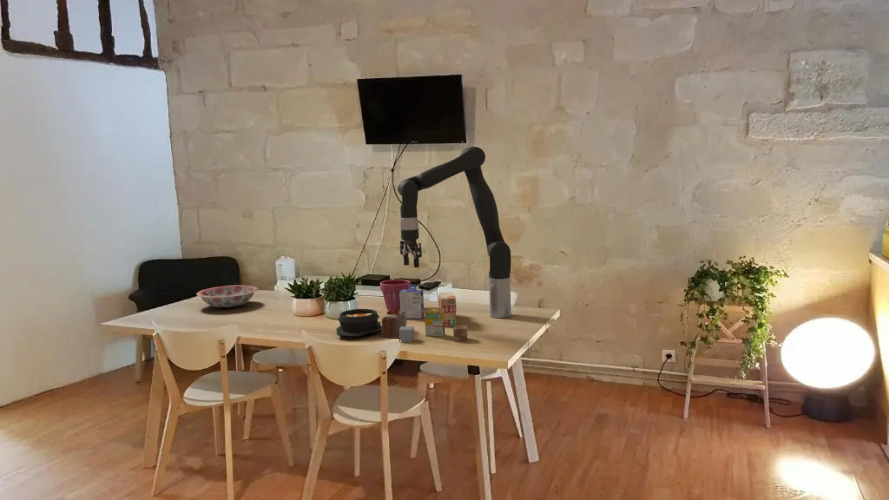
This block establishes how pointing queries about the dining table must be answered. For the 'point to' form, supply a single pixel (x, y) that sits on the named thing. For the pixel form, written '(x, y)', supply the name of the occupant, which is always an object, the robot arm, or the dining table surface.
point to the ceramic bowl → (227, 295)
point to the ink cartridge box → (412, 302)
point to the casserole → (358, 322)
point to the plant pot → (393, 292)
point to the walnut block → (460, 333)
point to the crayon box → (434, 322)
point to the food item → (393, 323)
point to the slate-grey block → (406, 333)
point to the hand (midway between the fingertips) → (411, 266)
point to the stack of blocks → (448, 308)
